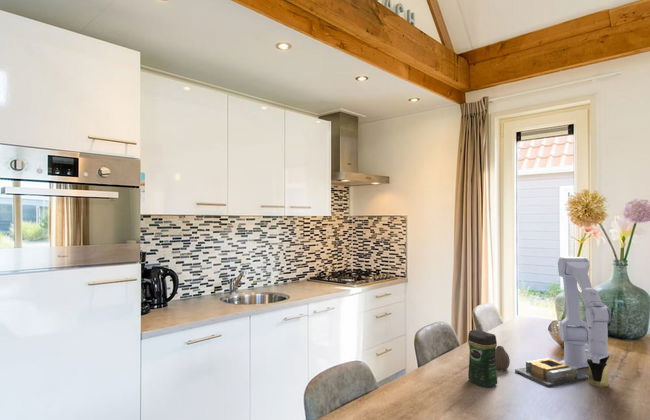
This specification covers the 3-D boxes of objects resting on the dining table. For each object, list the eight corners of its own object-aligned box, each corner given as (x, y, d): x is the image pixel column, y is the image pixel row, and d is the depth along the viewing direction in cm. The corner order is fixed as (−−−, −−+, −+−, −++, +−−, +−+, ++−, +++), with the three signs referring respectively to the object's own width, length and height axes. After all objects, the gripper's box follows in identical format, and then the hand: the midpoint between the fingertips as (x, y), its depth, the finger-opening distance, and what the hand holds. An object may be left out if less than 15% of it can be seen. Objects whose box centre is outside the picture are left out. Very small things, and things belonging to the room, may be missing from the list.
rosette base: (552, 365, 163) (552, 353, 163) (588, 379, 149) (588, 366, 149) (515, 371, 156) (514, 360, 156) (548, 387, 142) (548, 374, 142)
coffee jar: (501, 385, 144) (500, 333, 144) (486, 389, 140) (486, 336, 140) (478, 375, 152) (478, 326, 152) (464, 380, 148) (464, 329, 148)
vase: (511, 372, 155) (511, 350, 155) (492, 371, 156) (492, 349, 156) (507, 366, 162) (507, 344, 162) (489, 365, 163) (489, 343, 163)
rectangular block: (596, 381, 147) (596, 360, 147) (608, 385, 143) (608, 364, 143) (588, 383, 145) (588, 362, 145) (600, 387, 141) (600, 366, 141)
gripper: (587, 333, 152) (588, 369, 152) (581, 342, 141) (582, 381, 141) (610, 336, 148) (610, 373, 148) (606, 346, 137) (606, 386, 137)
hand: (598, 377), depth 144 cm, fingers open, 7 cm apart
